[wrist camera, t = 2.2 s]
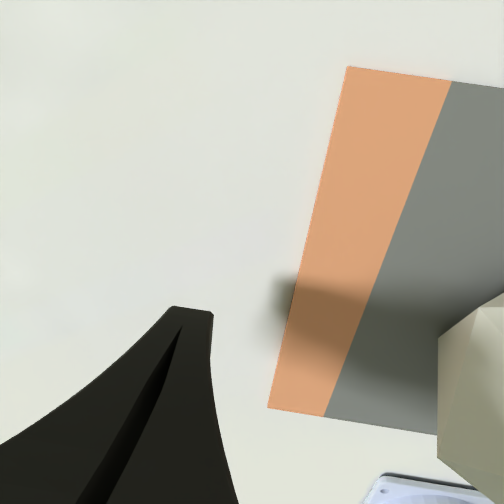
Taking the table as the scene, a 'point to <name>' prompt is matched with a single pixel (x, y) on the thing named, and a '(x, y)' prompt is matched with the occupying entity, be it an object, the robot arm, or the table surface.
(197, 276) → the table surface
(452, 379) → the die
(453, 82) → the mat
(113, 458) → the robot arm
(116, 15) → the table surface
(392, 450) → the table surface
